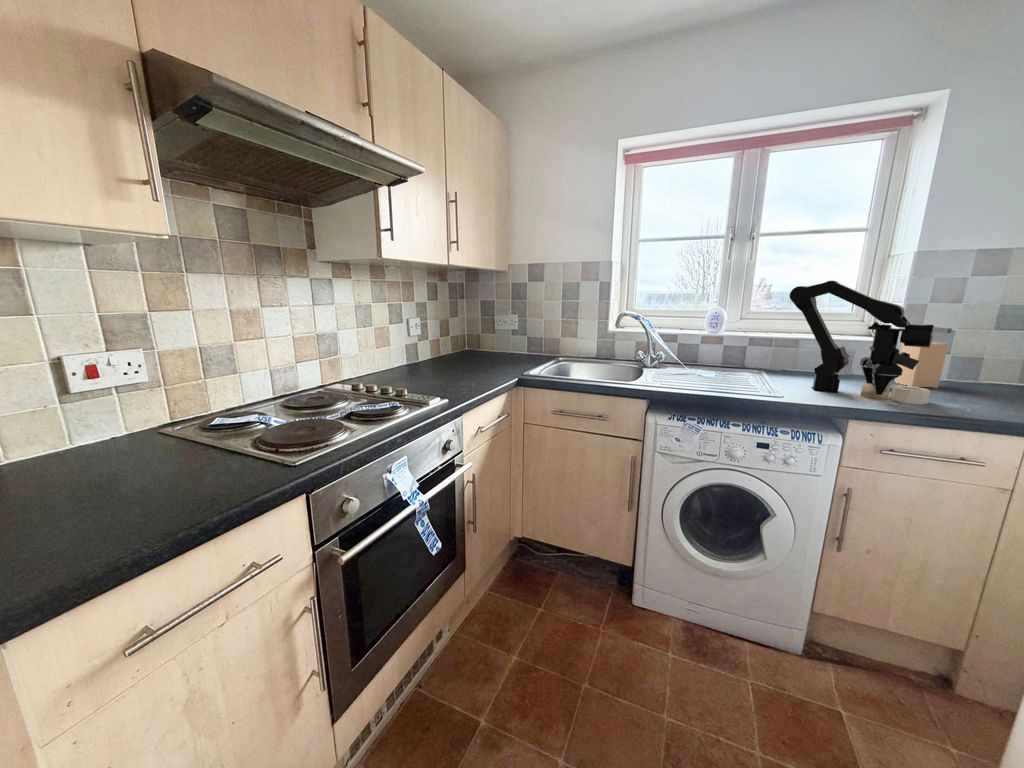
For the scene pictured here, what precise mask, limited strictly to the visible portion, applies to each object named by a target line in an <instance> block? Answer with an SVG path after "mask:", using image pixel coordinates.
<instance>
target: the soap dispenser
mask: <svg viewBox="0 0 1024 768" xmlns="http://www.w3.org/2000/svg"><path fill="white" fill-rule="evenodd" d="M952 330H953V328H949V327H939V326H934V328H933V333H934V332H935V333H943V334H944V333H945V334H952ZM948 348H949V343H944V342H937V341H936V342H935V341H934V338H933V339H932V343H931V346H930V348H928V347H914V346H904V343H902V344H901V350H900V353H902V352H905V353H908V354H910V358H913V359H915V360H918V361H919V362H918V363H917V365H916V366H915V367H914V369H913V370H911V369H909V368H907V367H904V366H902V365H899V364H897V365H898V366H900V367H901V368H902V369H903V371H902V376H899V377H898V378H894V382H896V383H895V384H898V383H900V384H899V385H901V384H903V385H902V386H905V385H907V386H914V387H934V388H933V389H939V385H940V380H941V377H942V372H943V368H944V365H945V360H946V356H947V352H948Z"/></svg>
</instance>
